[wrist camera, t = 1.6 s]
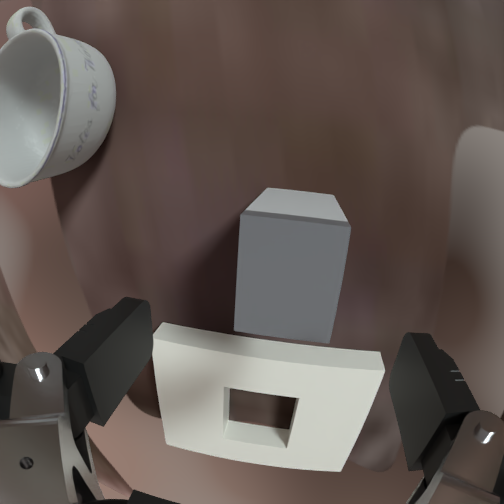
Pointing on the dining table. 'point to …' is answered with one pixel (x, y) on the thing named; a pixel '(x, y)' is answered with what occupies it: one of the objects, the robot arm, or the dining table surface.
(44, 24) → the teacup
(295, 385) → the socket plate
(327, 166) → the dining table surface
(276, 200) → the plug
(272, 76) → the dining table surface
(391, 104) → the dining table surface
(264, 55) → the dining table surface
